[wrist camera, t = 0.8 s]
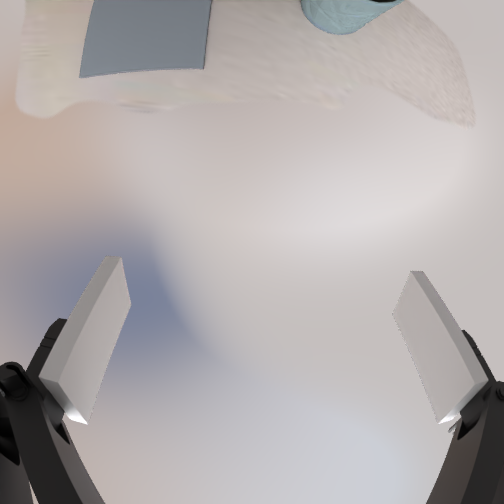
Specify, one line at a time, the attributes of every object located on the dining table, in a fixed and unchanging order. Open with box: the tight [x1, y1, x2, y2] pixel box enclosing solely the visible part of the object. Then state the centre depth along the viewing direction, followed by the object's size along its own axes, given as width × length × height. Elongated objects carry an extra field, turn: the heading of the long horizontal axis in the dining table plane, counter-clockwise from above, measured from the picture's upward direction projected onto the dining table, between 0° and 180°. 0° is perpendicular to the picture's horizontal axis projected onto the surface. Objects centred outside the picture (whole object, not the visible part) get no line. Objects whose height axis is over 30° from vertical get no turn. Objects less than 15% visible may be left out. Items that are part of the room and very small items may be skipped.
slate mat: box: [79, 0, 212, 78], centre depth 28 cm, size 12×16×1 cm
